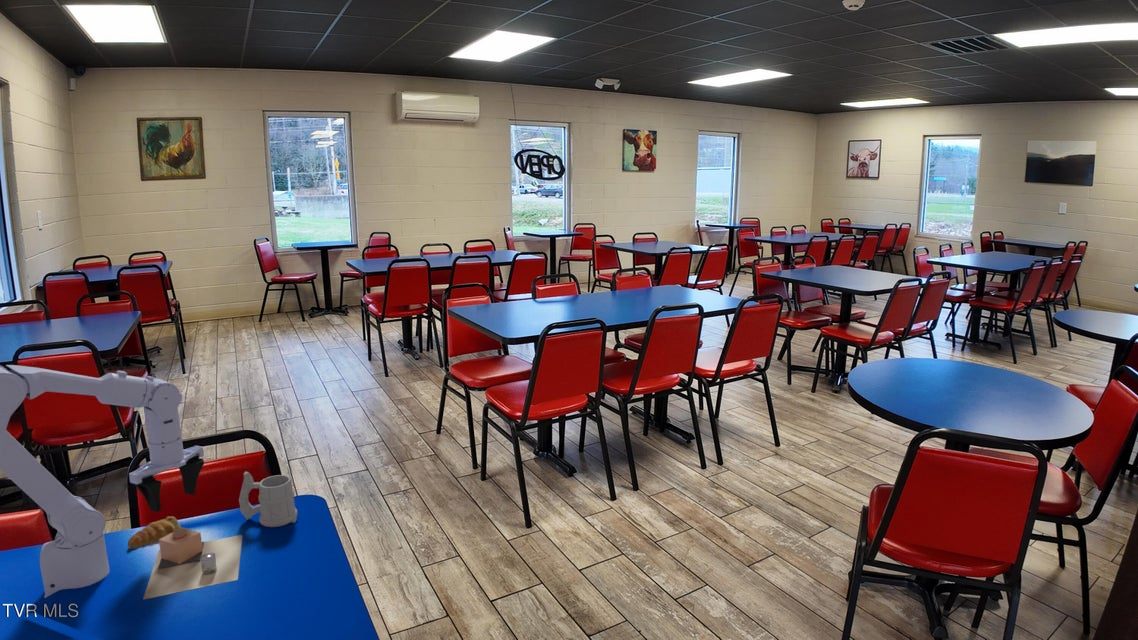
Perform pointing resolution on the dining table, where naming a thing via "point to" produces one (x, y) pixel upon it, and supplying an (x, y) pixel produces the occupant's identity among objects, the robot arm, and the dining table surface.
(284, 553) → the dining table surface
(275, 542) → the dining table surface
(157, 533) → the pastry
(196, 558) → the rest pad
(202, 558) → the post
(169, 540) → the beige toy brick
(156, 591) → the base board
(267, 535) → the dining table surface
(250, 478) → the mug
